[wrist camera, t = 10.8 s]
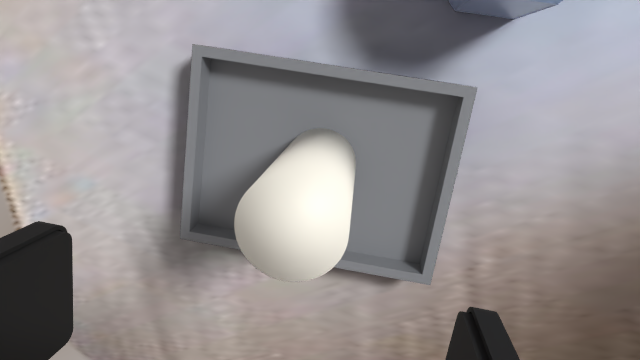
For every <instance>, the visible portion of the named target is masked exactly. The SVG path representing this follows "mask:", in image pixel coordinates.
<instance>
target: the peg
mask: <svg viewBox="0 0 640 360" xmlns="http://www.w3.org/2000/svg"><path fill="white" fill-rule="evenodd" d="M355 170H356V158H355V154H354V151H353V148H352V147H351V145H350V143H349V142H348V141H347V140H346V139H345V138H344V137H343V136H342V135H340V134H339V133H337V132H335V131H333V130H330V129H324V128H316V129H311V130H307V131H305V132H303V133H301V134H300V135H299V136H297V137H296V138H295V139H294V140H293V141H292V143H291V144H290V145H289V146H288V147H287V148H286V149H285V150H284V151H283V152H282V153H281V155H280V156H279V157H278V158H277V159H276V160H275V161H274V162H273V163H272V164H271V165H270V166H269V168H268V169H267V170H266V171H265V172H264V173H263V174H262V175H261V176H260V177H259V178H258V180H257V181H256V182H255V183H254V184H253V185H252V186H251V187H250V188H249V189H248V190H247V192H246V193H245V194H244V195H243V197H242V198H241V200H240V202H239V204H238V206H237V209H236V213H235V218H234V229H235V236H236V240H237V242H238V245H239V247H240V249H241V251H242V253H243V254H244V256H245V257H246V259H247V260H248V261H249V262H250V263H251V264H252V265H253V266H254V267H255V268H256V269H258V270H259V271H261V272H262V273H264V274H266V275H268V276H270V277H272V278H275V279H278V280H282V281H288V282H302V281H308V280H312V279H315V278H318V277H320V276H322V275H324V274H325V273H327V272H328V271H330V270H331V269H332V268H333V267H334V266H335V265H336V264H337V263H338V262H339V260H340V259H341V257H342V256H343V254H344V252H345V250H346V247H347V244H348V240H349V231H350V221H351V211H352V201H353V190H354V180H355Z"/></svg>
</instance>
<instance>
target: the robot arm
mask: <svg viewBox="0 0 640 360" xmlns="http://www.w3.org/2000/svg"><path fill="white" fill-rule="evenodd" d="M72 332H73V274H72V237H71V235H70V234H69V233H67V230H66V228H65V227H63V226H60V225H55V224H50V223H45V222H40V221H38V222H35V223H32V224H30V225H28V226H26V227H24V228H21V229H19V230H17V231H15V232H13V233H11V234H8V235H6V236H4V237H2V238H0V360H48V359H50V358H51V357H52V356H53V355H54V354H55V353H56V352H58V351H59V350H60V349H61V348H62V347H63V346H64V345H65V344H66V343H67V342H68V341H69V339H70V337H71V335H72ZM446 360H520V359H519V357H518V355H517V353H516V351H515V349H514V347H513V344H512V342H511V340H510V338H509V336H508V334H507V332H506V330H505V328H504V326H503V323H502V321H501V319H500V317H499V315H498V314H497V312H494V311H489V310H484V309H479V308H474V307H469V308H468V310H467V312H461V311H460V312H459V313H458V315H457V319H456V322H455V326H454V330H453V334H452V337H451V341H450V345H449V349H448V352H447V356H446Z"/></svg>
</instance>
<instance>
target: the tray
mask: <svg viewBox="0 0 640 360" xmlns="http://www.w3.org/2000/svg"><path fill="white" fill-rule="evenodd" d="M476 92H477V88H476V87H471V86H465V85H459V84H452V83H445V82H439V81H432V80H426V79H419V78H413V77H406V76H400V75H393V74H387V73H380V72H373V71H367V70H360V69H354V68H347V67H341V66H334V65H328V64H321V63H315V62H308V61H302V60H295V59H288V58H282V57H275V56H269V55H262V54H256V53H249V52H243V51H236V50H230V49H223V48H217V47H210V46H203V45H195V44H192V59H191V74H190V90H189V105H188V121H187V136H186V151H185V167H184V182H183V197H182V213H181V228H180V239H185V240H190V241H196V242H201V243H206V244H212V245H217V246H222V247H228V248H233V249H239V250H241V249H240V247H239V245H238V242H237V240H236V236H235V229H234V218H235V213H236V209H237V206H238V204H239V202H240V200H241V198H242V197H243V195H244V194H245V193H246V192H247V190H248V189H249V188H250V187H251V186H252V185H253V184H254V183H255V182H256V181H257V180H258V178H259V177H260V176H261V175H262V174H263V173H264V172H265V171H266V170H267V169H268V168H269V166H270V165H271V164H272V163H273V162H274V161H275V160H276V159H277V158H278V157H279V156H280V155H281V153H282V152H283V151H284V150H285V149H286V148H287V147H288V146H289V145H290V144H291V143H292V141H293V140H294V139H295V138H296V137H297V136H299V135H300V134H301V133H303V132H305V131H307V130H311V129H316V128H324V129H330V130H333V131H335V132H337V133H339V134H340V135H342V136H343V137H344V138H345V139H346V140H347V141H348V142H349V143H350V145H351V147H352V148H353V151H354V154H355V158H356V170H355V180H354V190H353V201H352V211H351V221H350V231H349V240H348V244H347V247H346V250H345V252H344V254H343V256H342V257H341V259H340V260H339V262H338V263H337V264H336V265H335V266H334V267H335V268H340V269H346V270H351V271H357V272H362V273H367V274H373V275H378V276H383V277H389V278H394V279H400V280H405V281H410V282H416V283H421V284H426V285H430V284H431V280H432V276H433V271H434V267H435V263H436V259H437V255H438V251H439V246H440V242H441V238H442V234H443V230H444V225H445V221H446V217H447V213H448V209H449V205H450V200H451V196H452V192H453V188H454V184H455V179H456V175H457V171H458V167H459V163H460V159H461V154H462V150H463V146H464V142H465V138H466V133H467V129H468V125H469V121H470V117H471V113H472V108H473V104H474V100H475V96H476Z"/></svg>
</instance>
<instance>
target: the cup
mask: <svg viewBox="0 0 640 360" xmlns="http://www.w3.org/2000/svg"><path fill="white" fill-rule="evenodd" d="M448 1H449V3H450V4H451V6H452V7H453V9H454V11H458V12H466V13H473V14H480V15H487V16H494V17H501V18H508V19H517V18H520V17H523V16H526V15H528V14H531V13H534V12H537V11H540V10H543V9H546V8H549V7H552V6H555V5H558V4H559V3H560V2H561V1H563V0H448Z"/></svg>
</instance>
